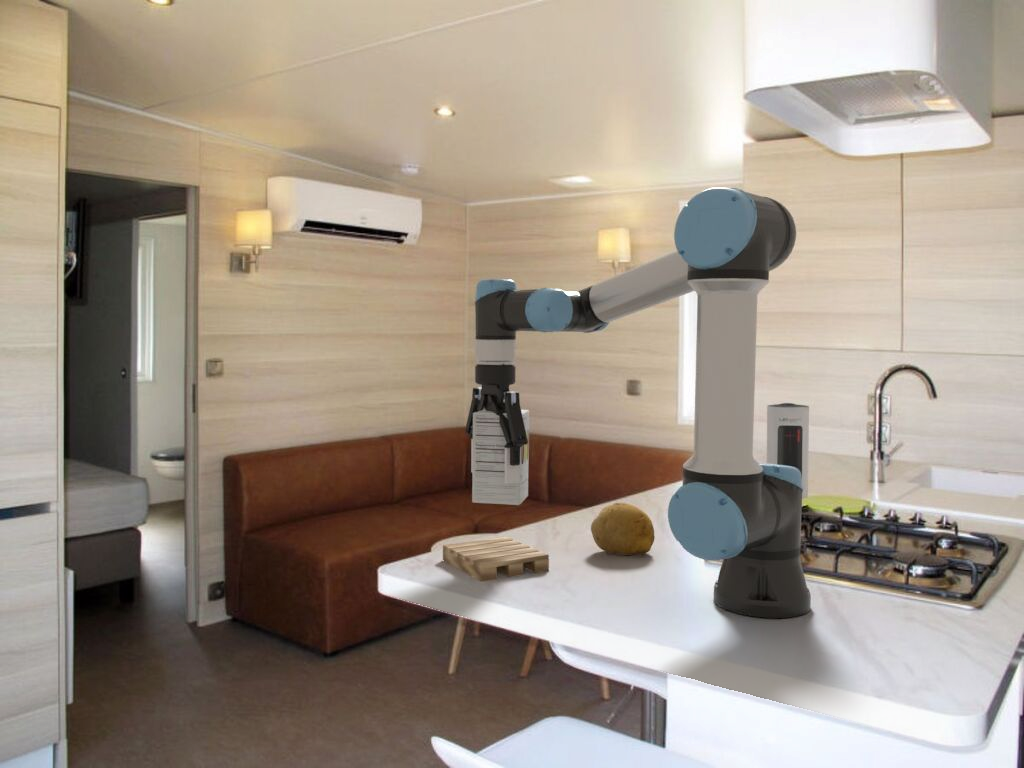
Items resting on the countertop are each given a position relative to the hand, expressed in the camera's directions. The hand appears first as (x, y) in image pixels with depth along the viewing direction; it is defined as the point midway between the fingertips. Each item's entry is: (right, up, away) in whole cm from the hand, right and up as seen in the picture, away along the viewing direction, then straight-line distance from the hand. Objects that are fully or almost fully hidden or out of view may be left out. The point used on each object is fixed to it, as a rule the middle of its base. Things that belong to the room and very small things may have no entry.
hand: (494, 477), depth 160 cm
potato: (+25, -16, +11) cm, 32 cm away
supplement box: (+1, -4, +1) cm, 5 cm away
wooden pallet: (0, -17, +1) cm, 17 cm away
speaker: (+74, -14, +61) cm, 97 cm away
